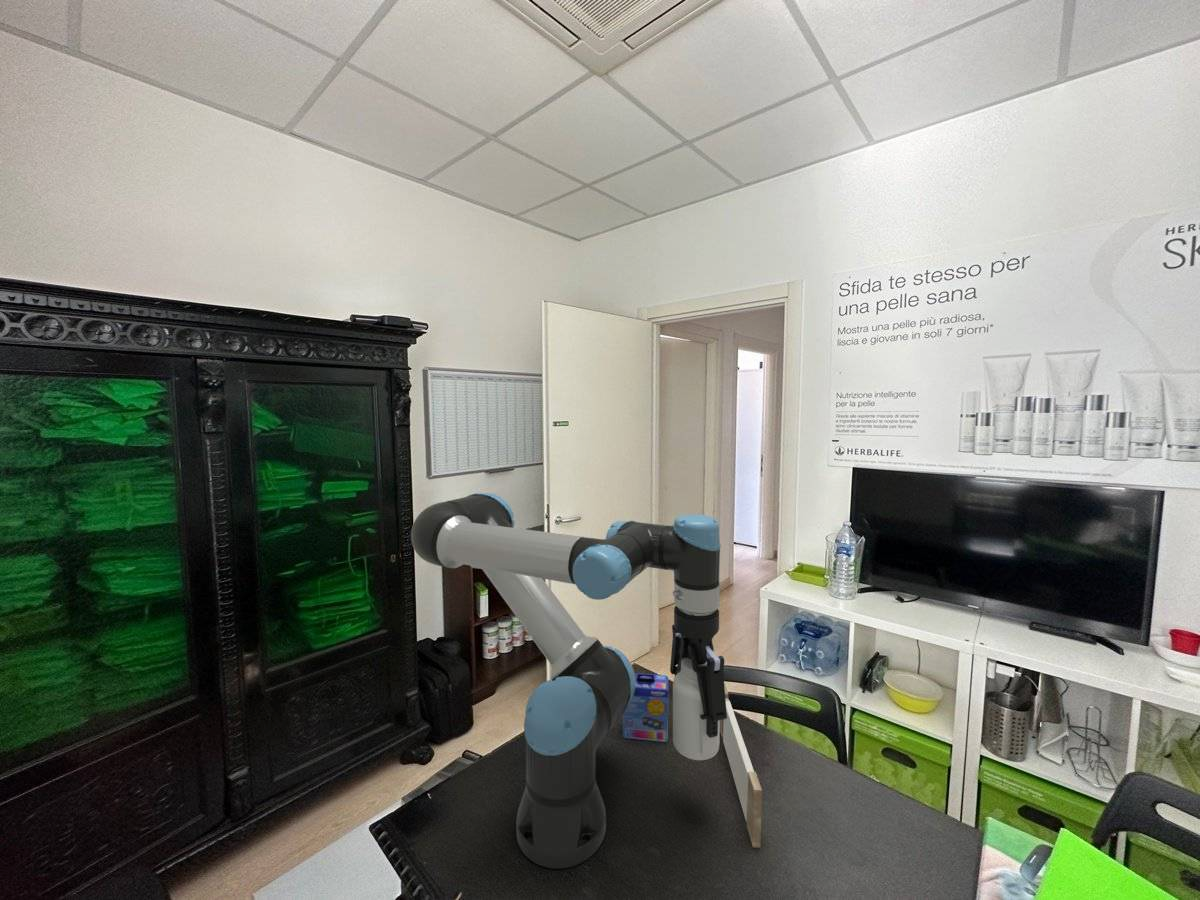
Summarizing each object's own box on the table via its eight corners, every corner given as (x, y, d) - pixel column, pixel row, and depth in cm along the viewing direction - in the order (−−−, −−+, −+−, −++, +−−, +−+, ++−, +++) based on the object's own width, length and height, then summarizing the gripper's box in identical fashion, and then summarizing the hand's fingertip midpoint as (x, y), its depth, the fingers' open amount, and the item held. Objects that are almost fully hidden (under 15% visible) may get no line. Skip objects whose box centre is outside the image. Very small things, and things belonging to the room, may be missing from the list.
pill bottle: (717, 732, 85) (718, 652, 84) (721, 764, 77) (722, 677, 76) (673, 727, 86) (673, 649, 85) (672, 759, 78) (672, 673, 77)
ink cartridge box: (621, 739, 100) (621, 675, 99) (623, 722, 106) (623, 661, 105) (668, 743, 99) (669, 678, 98) (667, 726, 105) (668, 664, 103)
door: (746, 821, 80) (747, 772, 79) (722, 737, 101) (723, 697, 100) (753, 822, 80) (754, 772, 79) (727, 737, 100) (728, 697, 100)
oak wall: (752, 847, 76) (754, 789, 75) (718, 726, 105) (719, 683, 104) (760, 847, 76) (762, 790, 75) (724, 726, 104) (725, 683, 104)
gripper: (651, 587, 88) (651, 703, 90) (708, 638, 68) (707, 784, 70) (687, 583, 90) (686, 695, 92) (752, 630, 71) (750, 772, 73)
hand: (695, 733), depth 81 cm, fingers closed on pill bottle, 8 cm apart
